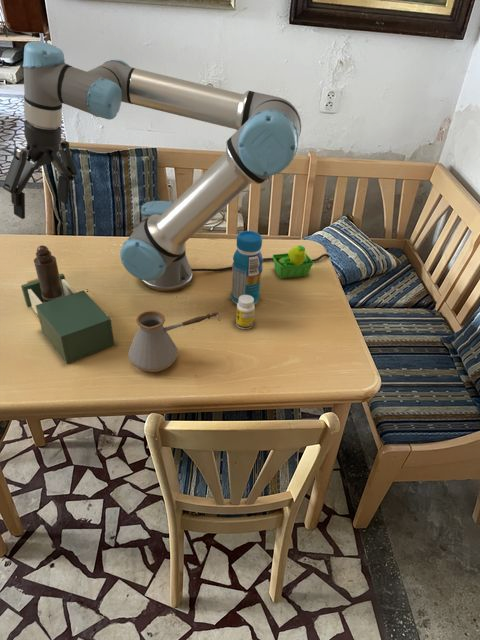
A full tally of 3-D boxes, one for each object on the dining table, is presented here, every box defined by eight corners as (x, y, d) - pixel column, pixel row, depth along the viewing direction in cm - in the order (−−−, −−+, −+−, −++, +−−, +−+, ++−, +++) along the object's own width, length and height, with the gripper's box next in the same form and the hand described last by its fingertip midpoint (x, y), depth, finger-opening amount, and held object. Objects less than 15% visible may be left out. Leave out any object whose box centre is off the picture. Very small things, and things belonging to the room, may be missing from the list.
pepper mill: (67, 301, 129) (54, 240, 118) (64, 312, 125) (51, 251, 114) (46, 301, 128) (32, 240, 117) (43, 313, 124) (28, 251, 113)
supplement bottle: (235, 318, 133) (236, 293, 128) (252, 319, 134) (254, 293, 128) (235, 329, 129) (237, 303, 124) (253, 330, 130) (256, 304, 125)
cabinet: (42, 331, 122) (35, 305, 117) (88, 315, 128) (83, 290, 123) (66, 363, 114) (60, 336, 109) (114, 345, 120) (110, 319, 115)
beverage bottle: (226, 303, 138) (229, 240, 125) (234, 288, 145) (238, 226, 132) (255, 309, 137) (261, 246, 124) (262, 294, 144) (268, 232, 131)
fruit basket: (302, 265, 159) (307, 233, 151) (313, 279, 152) (319, 247, 145) (269, 268, 155) (273, 236, 148) (280, 283, 149) (284, 250, 142)
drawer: (20, 298, 130) (14, 277, 126) (60, 286, 136) (56, 266, 132) (46, 331, 121) (41, 311, 117) (88, 317, 127) (85, 297, 122)
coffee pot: (126, 377, 112) (119, 326, 102) (132, 345, 121) (126, 295, 111) (218, 378, 115) (221, 328, 105) (218, 347, 123) (220, 298, 114)
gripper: (72, 109, 118) (68, 190, 131) (-20, 123, 99) (-13, 215, 112) (96, 122, 116) (89, 202, 130) (8, 139, 98) (11, 230, 111)
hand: (42, 208), depth 121 cm, fingers open, 13 cm apart
